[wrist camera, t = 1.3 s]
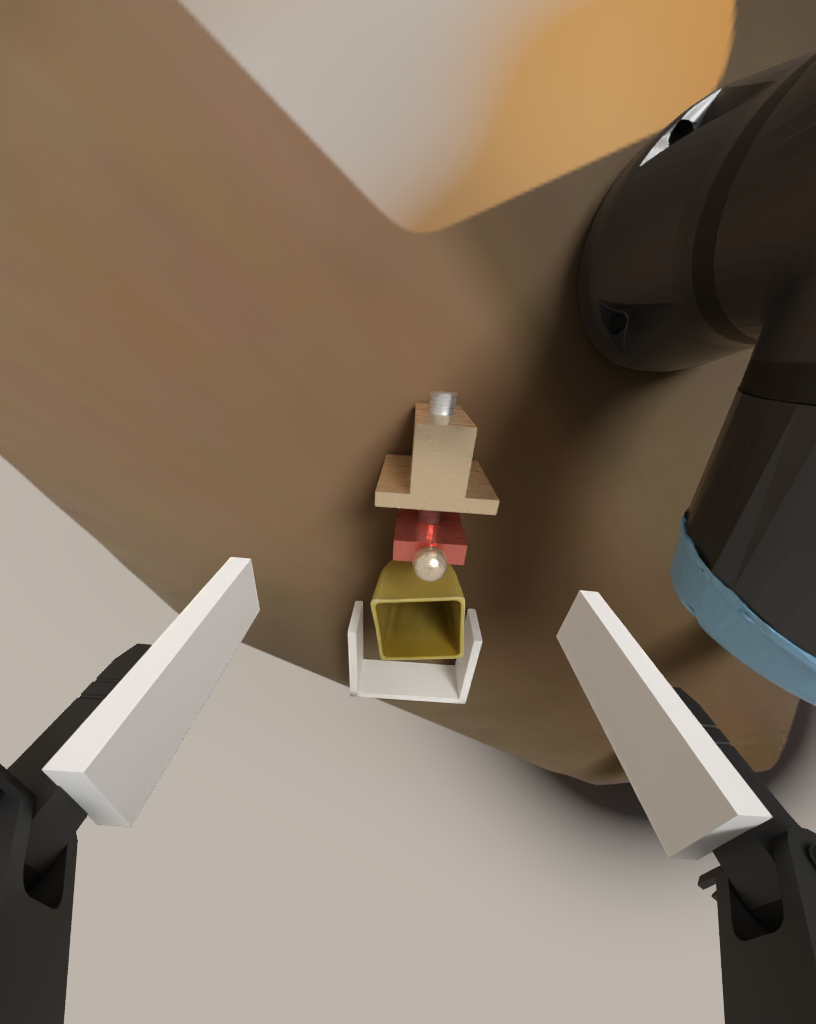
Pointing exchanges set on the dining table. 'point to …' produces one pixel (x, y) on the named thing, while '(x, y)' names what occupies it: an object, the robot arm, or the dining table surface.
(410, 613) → the flower pot
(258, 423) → the dining table surface
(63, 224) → the dining table surface
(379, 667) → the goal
